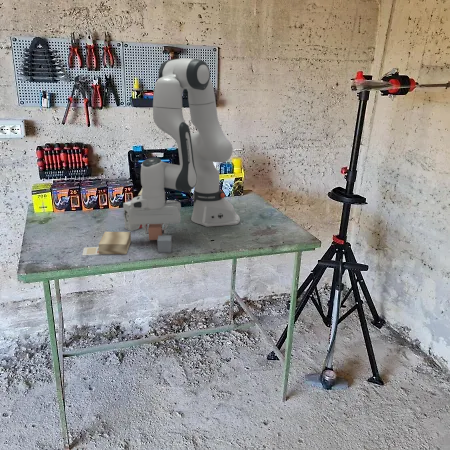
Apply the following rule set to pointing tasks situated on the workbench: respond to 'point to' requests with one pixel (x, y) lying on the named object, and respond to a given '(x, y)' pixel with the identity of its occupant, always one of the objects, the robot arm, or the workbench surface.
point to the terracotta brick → (154, 231)
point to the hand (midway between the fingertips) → (155, 233)
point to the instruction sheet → (91, 251)
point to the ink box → (126, 215)
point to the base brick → (115, 243)
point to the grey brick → (164, 243)
